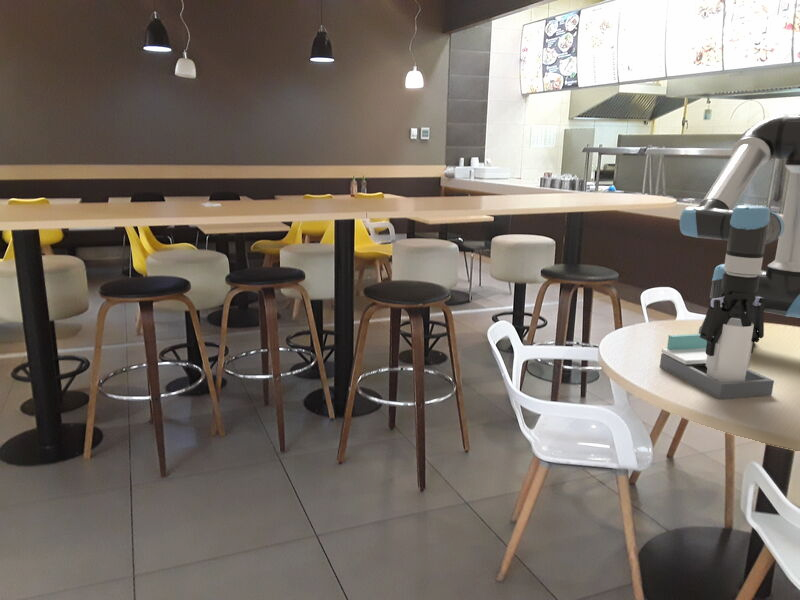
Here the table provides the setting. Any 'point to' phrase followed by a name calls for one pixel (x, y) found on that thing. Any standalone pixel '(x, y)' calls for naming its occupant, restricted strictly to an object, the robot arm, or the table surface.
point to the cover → (687, 348)
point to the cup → (733, 352)
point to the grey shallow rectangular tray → (716, 388)
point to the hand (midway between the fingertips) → (727, 367)
